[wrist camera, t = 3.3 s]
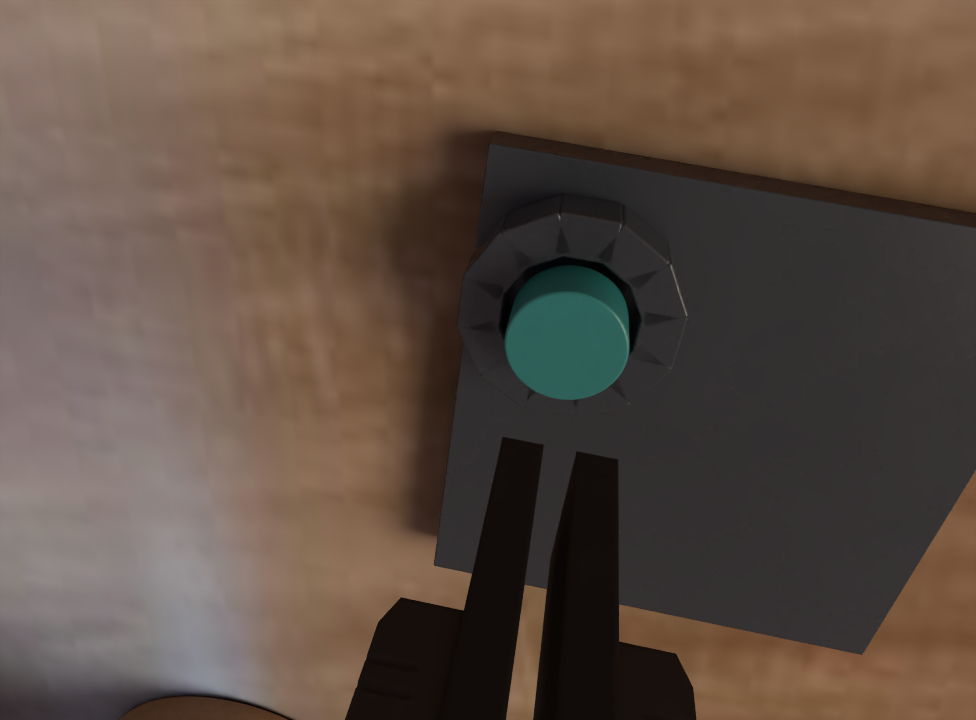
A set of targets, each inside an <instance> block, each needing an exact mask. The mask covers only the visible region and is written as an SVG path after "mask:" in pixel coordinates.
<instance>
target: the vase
mask: <svg viewBox="0 0 976 720" xmlns="http://www.w3.org/2000/svg"><path fill="white" fill-rule="evenodd" d="M119 720H288V719H285V718H283V717H281V716H279V715H276V714H273V713H271V712H268V711H265V710H262V709H259V708H256V707H253V706H249V705H246V704H242V703H238V702H233V701H228V700H223V699H216V698H207V697H171V698H164V699H159V700H154V701H151V702H148V703H144V704H142V705H140V706H137V707H136V708H134V709H132V710H130V711H129V712H128V713H126V714H125V715H124V716H122V717H121V718H120V719H119Z"/></svg>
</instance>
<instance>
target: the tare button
mask: <svg viewBox="0 0 976 720" xmlns="http://www.w3.org/2000/svg"><path fill="white" fill-rule="evenodd" d="M629 345H630V344H629V315H628V308H627V304H626V301H625V299H624V297H623V295H622V293H621V292H620V290H619V289H618V288H617V286H616V285H615V284H614V283H613V282H612V281H611V280H610V279H608V278H607V277H605V276H604V275H603V274H601V273H599V272H597V271H595V270H592V269H590V268H586V267H582V266H575V265H563V266H556V267H552V268H549V269H546V270H543V271H541V272H539V273H538V274H536V275H534V276H533V277H532V278H530V279H529V280H528V281H527V282H526V283H525V284H524V285H523V286H522V288H521V289H520V290H519V292H518V294H517V295H516V298H515V300H514V303H513V307H512V311H511V314H510V318H509V322H508V325H507V329H506V333H505V340H504V346H505V353H506V358H507V360H508V363H509V365H510V367H511V369H512V370H513V372H514V373H515V375H516V376H517V377H518V378H519V379H520V380H521V382H523V383H524V384H525V385H526V386H527V387H529V388H530V389H532V390H533V391H535V392H537V393H539V394H542V395H544V396H547V397H551V398H555V399H562V400H575V399H582V398H587V397H590V396H593V395H595V394H597V393H600V392H601V391H603V390H605V389H606V388H608V387H609V386H610V385H611V384H612V383H613V382H614V381H615V380H616V379H617V378H618V377H619V376H620V374H621V373H622V371H623V369H624V368H625V366H626V363H627V360H628V356H629Z"/></svg>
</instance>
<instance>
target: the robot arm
mask: <svg viewBox="0 0 976 720" xmlns="http://www.w3.org/2000/svg"><path fill="white" fill-rule="evenodd" d="M543 448H544V445H543V444H537V443H532V442H527V441H522V440H517V439H512V438H507V437H502V442H501V446H500V451H499V455H498V460H497V464H496V469H495V473H494V478H493V482H492V487H491V491H490V496H489V500H488V505H487V509H486V514H485V518H484V523H483V527H482V532H481V536H480V541H479V545H478V550H477V554H476V559H475V563H474V568H473V572H472V577H471V581H470V586H469V590H468V595H467V599H466V604H465V608H464V611H463V610H458V609H453V608H449V607H444V606H439V605H434V604H430V603H425V602H420V601H415V600H411V599H406V598H400V599H399V600H398V601H397V602H396V604H395V605H394V606H393V607H392V608H391V609H390V610H389V611H388V612H387V613H386V614H385V615H384V617H383V618H382V619H381V620H380V621H379V622H378V625H377V627H376V630H375V633H374V636H373V639H372V642H371V645H370V648H369V651H368V654H367V659H366V661H365V663H364V666H363V669H362V671H361V674H360V677H359V680H358V685H357V688H356V689H355V692H354V695H353V698H352V701H351V704H350V707H349V710H348V713H347V715H346V718H345V720H506V714H507V707H508V700H509V692H510V685H511V678H512V671H513V664H514V657H515V649H516V642H517V635H518V628H519V621H520V614H521V606H522V599H523V592H524V585H525V578H526V570H527V563H528V556H529V549H530V542H531V535H532V527H533V520H534V513H535V506H536V499H537V492H538V484H539V477H540V470H541V463H542V456H543ZM533 720H696V712H695V702H694V692H693V687H692V685H691V683H690V681H689V679H688V677H687V675H686V673H685V671H684V669H683V667H682V665H681V663H680V661H679V659H678V657H677V655H676V654H675V653H670V652H666V651H661V650H656V649H651V648H647V647H642V646H637V645H632V644H628V643H623V642H619V499H618V459H614V458H609V457H603V456H598V455H593V454H588V453H583V452H578V451H576V455H575V459H574V463H573V467H572V472H571V476H570V480H569V484H568V488H567V492H566V496H565V500H564V504H563V508H562V512H561V516H560V521H559V525H558V529H557V533H556V537H555V541H554V545H553V549H552V553H551V557H550V565H549V575H548V584H547V594H546V603H545V613H544V623H543V632H542V642H541V651H540V661H539V670H538V680H537V689H536V699H535V708H534V718H533Z"/></svg>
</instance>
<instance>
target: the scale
mask: <svg viewBox="0 0 976 720" xmlns="http://www.w3.org/2000/svg"><path fill="white" fill-rule="evenodd" d="M563 265H575V266H582V267H586V268H590V269H592V270H595V271H597V272H599V273H601V274H603V275H604V276H605V277H607V278H608V279H610V280H611V281H612V282H613V283H614V284H615V285H616V286H617V288H618V289H619V290H620V292H621V293H622V295H623V297H624V299H625V301H626V304H627V308H628V315H629V344H630V345H629V356H628V360H627V363H626V366H625V368H624V369H623V371H622V373H621V374H620V376H619V377H618V378H617V379H616V380H615V381H614V382H613V383H612V384H611V385H610V386H609V387H608V388H606V389H605V390H603V391H601V392H600V393H597V394H595V395H593V396H590V397H587V398H582V399H575V400H562V399H555V398H551V397H547V396H544V395H542V394H539V393H537V392H535V391H533V390H532V389H530V388H529V387H527V386H526V385H525V384H524V383H523V382H521V380H520V379H519V378H518V377H517V376H516V375H515V373H514V372H513V370H512V369H511V367H510V365H509V363H508V360H507V358H506V353H505V346H504V340H505V333H506V329H507V325H508V322H509V318H510V314H511V311H512V307H513V303H514V300H515V298H516V295H517V294H518V292H519V290H520V289H521V288H522V286H523V285H524V284H525V283H526V282H527V281H528V280H529V279H530V278H532V277H533V276H534V275H536V274H538V273H539V272H541V271H543V270H546V269H549V268H552V267H556V266H563ZM457 327H458V331H459V333H460V335H461V337H462V339H463V345H462V353H461V360H460V368H459V376H458V383H457V391H456V399H455V406H454V414H453V422H452V429H451V437H450V445H449V452H448V460H447V468H446V475H445V483H444V491H443V499H442V506H441V514H440V522H439V529H438V537H437V545H436V552H435V560H434V565H435V566H439V567H443V568H448V569H453V570H458V571H463V572H467V573H472V572H473V568H474V563H475V559H476V554H477V550H478V545H479V541H480V536H481V532H482V527H483V523H484V518H485V514H486V509H487V505H488V500H489V496H490V491H491V487H492V482H493V478H494V473H495V469H496V464H497V460H498V455H499V451H500V446H501V442H502V437H507V438H512V439H517V440H522V441H527V442H532V443H537V444H543V445H544V448H543V456H542V463H541V470H540V477H539V484H538V492H537V499H536V506H535V513H534V520H533V527H532V535H531V542H530V549H529V556H528V563H527V570H526V578H525V585H530V586H534V587H539V588H544V589H547V584H548V575H549V565H550V557H551V553H552V549H553V545H554V541H555V537H556V533H557V529H558V525H559V521H560V516H561V512H562V508H563V504H564V500H565V496H566V492H567V488H568V484H569V480H570V476H571V472H572V467H573V463H574V459H575V455H576V451H578V452H583V453H588V454H593V455H598V456H603V457H609V458H614V459H618V499H619V604H621V605H626V606H630V607H635V608H640V609H645V610H650V611H654V612H659V613H664V614H669V615H673V616H678V617H683V618H688V619H693V620H697V621H702V622H707V623H712V624H717V625H721V626H726V627H731V628H736V629H741V630H745V631H750V632H755V633H760V634H765V635H769V636H774V637H779V638H784V639H789V640H793V641H798V642H803V643H808V644H813V645H817V646H822V647H827V648H832V649H837V650H841V651H846V652H851V653H856V654H860V655H862V654H863V653H864V651H865V650H866V648H867V646H868V645H869V643H870V641H871V640H872V638H873V637H874V635H875V633H876V632H877V630H878V628H879V627H880V625H881V623H882V622H883V620H884V619H885V617H886V615H887V614H888V612H889V610H890V609H891V607H892V606H893V604H894V602H895V601H896V599H897V597H898V596H899V594H900V593H901V591H902V589H903V588H904V586H905V584H906V583H907V581H908V579H909V578H910V576H911V575H912V573H913V571H914V570H915V568H916V566H917V565H918V563H919V562H920V560H921V558H922V557H923V555H924V553H925V552H926V550H927V549H928V547H929V545H930V544H931V542H932V540H933V539H934V537H935V535H936V534H937V532H938V531H939V529H940V527H941V526H942V524H943V522H944V521H945V519H946V518H947V516H948V514H949V513H950V511H951V509H952V508H953V506H954V505H955V503H956V501H957V500H958V498H959V496H960V495H961V493H962V491H963V490H964V488H965V487H966V485H967V483H968V482H969V480H970V478H971V477H972V475H973V474H974V472H975V470H976V213H970V212H965V211H959V210H953V209H947V208H941V207H935V206H930V205H924V204H918V203H912V202H906V201H900V200H895V199H889V198H883V197H877V196H871V195H866V194H860V193H854V192H848V191H842V190H836V189H831V188H825V187H819V186H813V185H807V184H801V183H796V182H790V181H784V180H778V179H772V178H767V177H761V176H755V175H749V174H743V173H737V172H732V171H726V170H720V169H714V168H708V167H702V166H697V165H691V164H685V163H679V162H673V161H667V160H662V159H656V158H650V157H644V156H638V155H633V154H627V153H621V152H615V151H609V150H603V149H598V148H592V147H586V146H580V145H574V144H568V143H563V142H557V141H551V140H545V139H539V138H534V137H528V136H522V135H516V134H510V133H504V132H499V131H497V132H496V133H495V134H494V136H493V138H492V140H491V141H490V143H489V145H488V153H487V161H486V168H485V176H484V184H483V191H482V199H481V207H480V214H479V222H478V230H477V237H476V245H475V251H474V252H473V254H472V257H471V259H470V261H469V264H468V266H467V268H466V270H465V273H464V275H463V279H462V288H461V296H460V304H459V312H458V320H457Z"/></svg>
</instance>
